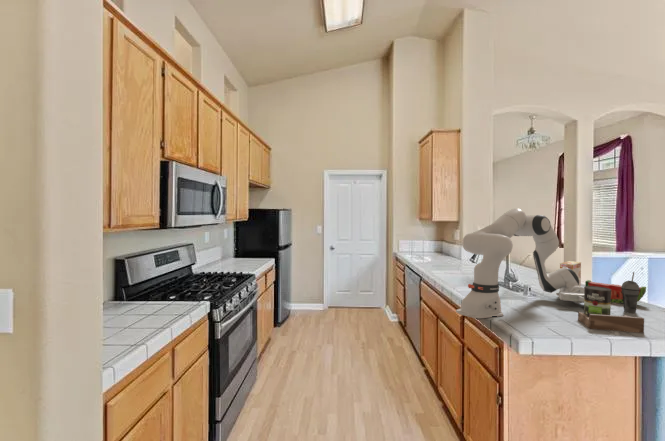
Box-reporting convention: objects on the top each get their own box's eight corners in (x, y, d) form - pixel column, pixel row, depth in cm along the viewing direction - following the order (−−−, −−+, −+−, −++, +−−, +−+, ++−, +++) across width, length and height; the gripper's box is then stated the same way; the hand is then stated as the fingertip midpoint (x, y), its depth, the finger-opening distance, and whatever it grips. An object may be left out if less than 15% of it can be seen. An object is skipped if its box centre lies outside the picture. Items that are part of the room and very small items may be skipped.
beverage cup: (619, 309, 186) (620, 270, 186) (637, 311, 183) (638, 271, 182) (621, 312, 180) (622, 272, 180) (640, 314, 176) (641, 273, 176)
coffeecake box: (567, 292, 226) (568, 260, 226) (581, 294, 221) (581, 262, 220) (558, 295, 217) (559, 262, 216) (572, 297, 211) (573, 264, 211)
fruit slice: (584, 298, 210) (585, 281, 209) (587, 296, 214) (587, 279, 214) (644, 307, 191) (645, 288, 191) (645, 304, 195) (646, 286, 195)
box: (578, 319, 168) (578, 306, 168) (626, 323, 163) (627, 309, 163) (590, 328, 155) (590, 314, 155) (643, 333, 150) (644, 318, 150)
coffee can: (608, 322, 164) (609, 291, 164) (581, 317, 171) (581, 287, 171) (612, 318, 171) (613, 288, 171) (586, 313, 178) (586, 284, 178)
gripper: (555, 287, 198) (563, 292, 185) (598, 289, 193) (610, 295, 179) (554, 299, 198) (563, 305, 185) (598, 301, 193) (610, 308, 179)
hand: (587, 300), depth 182 cm, fingers closed
